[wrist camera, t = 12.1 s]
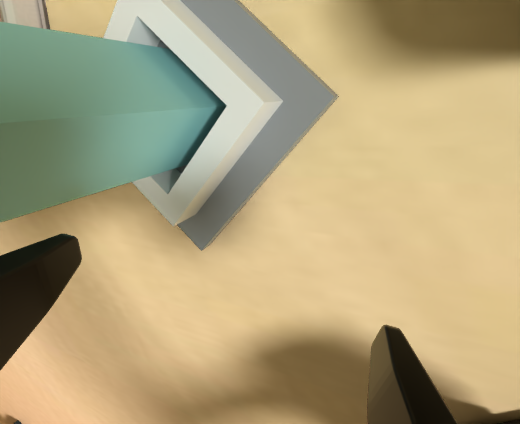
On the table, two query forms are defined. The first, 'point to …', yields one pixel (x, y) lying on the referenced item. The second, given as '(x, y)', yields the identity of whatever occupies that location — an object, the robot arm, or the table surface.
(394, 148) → the table surface
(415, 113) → the table surface
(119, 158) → the teal rectangular block
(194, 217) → the square socket base
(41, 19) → the book
